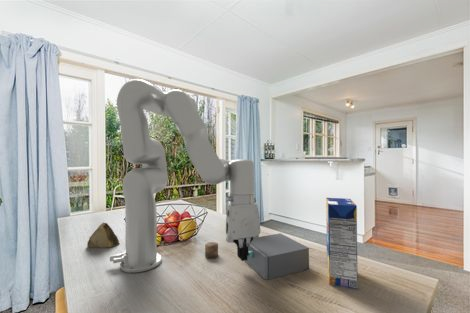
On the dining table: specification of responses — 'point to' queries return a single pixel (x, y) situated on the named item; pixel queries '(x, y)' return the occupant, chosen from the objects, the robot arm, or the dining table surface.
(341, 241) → the beverage box
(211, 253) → the brown rounded lump
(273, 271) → the housing
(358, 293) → the dining table surface
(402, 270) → the dining table surface
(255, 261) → the grey drawer
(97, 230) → the rock
